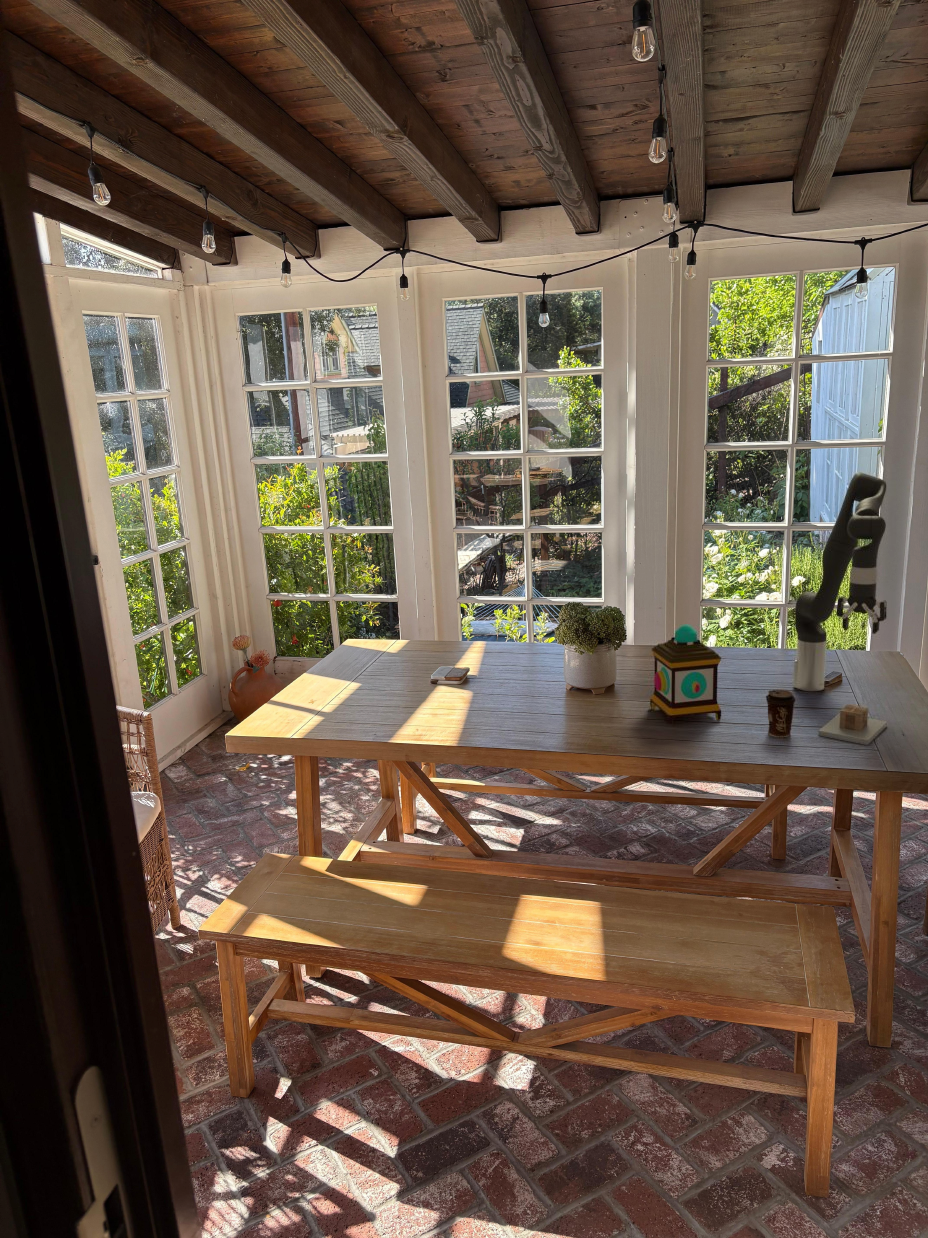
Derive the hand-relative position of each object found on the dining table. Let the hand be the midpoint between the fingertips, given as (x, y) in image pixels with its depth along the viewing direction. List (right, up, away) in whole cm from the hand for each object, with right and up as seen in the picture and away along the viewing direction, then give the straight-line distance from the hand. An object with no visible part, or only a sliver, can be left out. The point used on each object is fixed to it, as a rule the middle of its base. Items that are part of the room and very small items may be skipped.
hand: (860, 631), depth 283 cm
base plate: (-7, -30, -10) cm, 32 cm away
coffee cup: (-29, -31, -10) cm, 43 cm away
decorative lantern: (-52, -27, +10) cm, 60 cm away
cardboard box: (-7, -28, -11) cm, 31 cm away
